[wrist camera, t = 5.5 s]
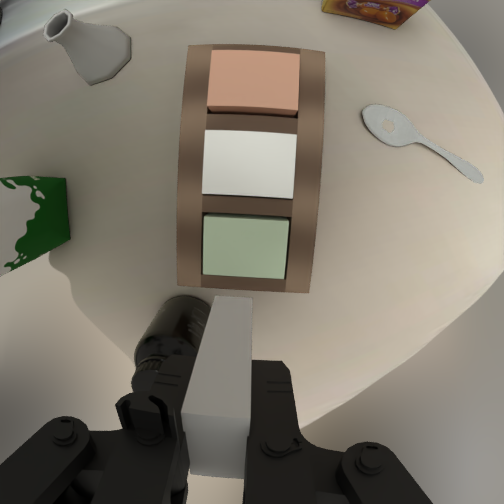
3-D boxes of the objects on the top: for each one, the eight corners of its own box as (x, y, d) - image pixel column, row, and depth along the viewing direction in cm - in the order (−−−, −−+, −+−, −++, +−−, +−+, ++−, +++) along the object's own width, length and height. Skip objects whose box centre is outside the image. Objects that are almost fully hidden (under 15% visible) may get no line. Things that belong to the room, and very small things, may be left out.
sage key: (210, 210, 28) (203, 216, 24) (284, 214, 28) (288, 221, 25) (209, 261, 30) (202, 274, 26) (280, 265, 30) (283, 278, 26)
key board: (196, 60, 25) (188, 45, 21) (316, 66, 25) (325, 52, 21) (186, 271, 31) (177, 285, 27) (302, 278, 31) (308, 293, 27)
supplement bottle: (153, 295, 31) (108, 354, 20) (214, 292, 31) (193, 357, 20) (165, 347, 33) (132, 417, 22) (221, 347, 33) (208, 422, 21)
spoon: (362, 96, 26) (367, 92, 25) (494, 172, 28) (502, 173, 26) (352, 131, 27) (358, 129, 26) (487, 201, 29) (495, 203, 27)
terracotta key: (217, 65, 24) (211, 50, 20) (293, 69, 24) (299, 54, 20) (213, 115, 25) (206, 105, 21) (291, 119, 25) (297, 110, 21)
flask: (122, 18, 23) (83, -21, 14) (141, 60, 25) (99, 24, 15) (72, 53, 24) (23, 27, 15) (87, 96, 26) (32, 76, 16)
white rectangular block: (212, 136, 25) (205, 130, 21) (290, 140, 25) (296, 134, 21) (209, 190, 27) (201, 193, 23) (287, 194, 27) (292, 198, 23)
